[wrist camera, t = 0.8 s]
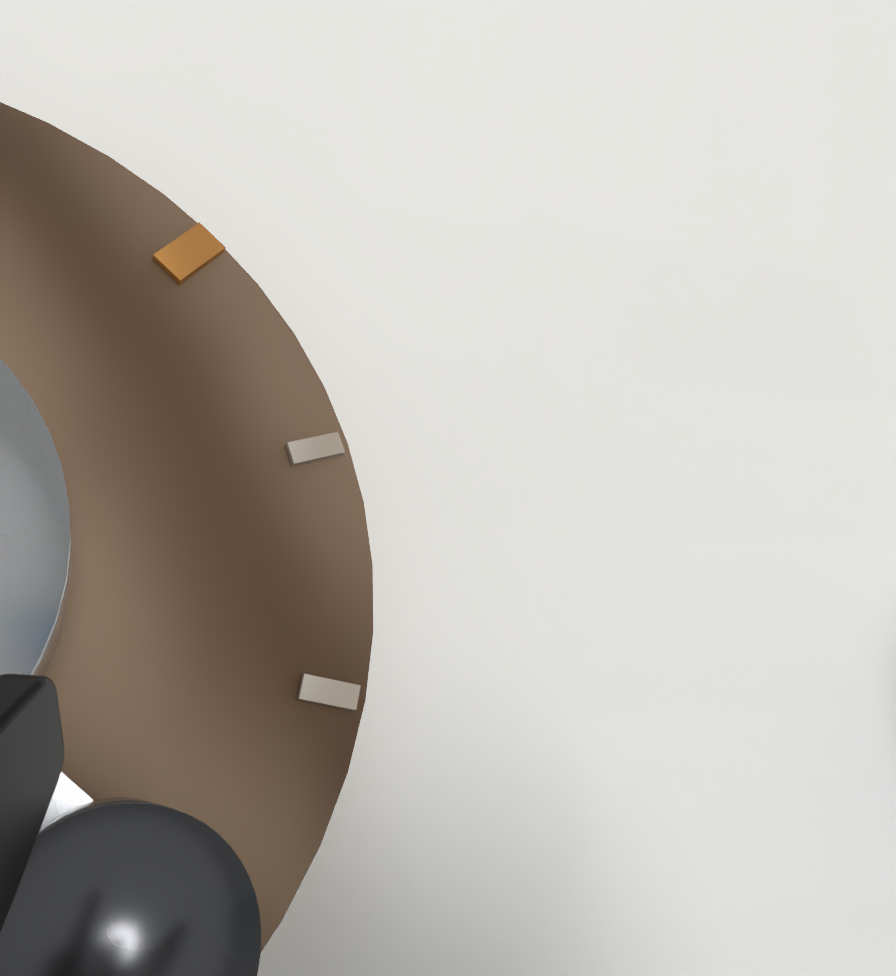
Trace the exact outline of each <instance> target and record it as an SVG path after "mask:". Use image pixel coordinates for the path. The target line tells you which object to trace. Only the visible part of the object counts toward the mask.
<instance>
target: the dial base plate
mask: <svg viewBox="0 0 896 976" xmlns="http://www.w3.org/2000/svg"><path fill="white" fill-rule="evenodd" d="M0 358H1V359H2V360H3V361H4V363H5V364H6V365H7V366H8V367H9V368H10V369H11V370H12V372H13V373H14V374H15V376H16V377H17V378H18V380H19V381H20V383H21V384H22V385H23V387H24V388H25V389H26V391H27V392H28V394H29V395H30V396H31V398H32V399H33V401H34V403H35V405H36V407H37V409H38V410H39V412H40V414H41V416H42V418H43V420H44V422H45V424H46V426H47V427H48V429H49V431H50V434H51V437H52V439H53V442H54V445H55V448H56V451H57V454H58V456H59V459H60V462H61V465H62V469H63V474H64V479H65V484H66V490H67V495H68V500H69V512H70V530H71V554H72V571H71V581H70V591H69V600H68V604H67V608H66V612H65V616H64V620H63V624H62V628H61V632H60V636H59V639H58V641H57V644H56V646H55V649H54V651H53V654H52V656H51V659H50V661H49V664H48V666H47V669H46V671H45V673H44V675H43V676H47V677H48V678H50V679H51V680H52V681H53V682H54V684H55V687H56V691H57V696H58V704H59V711H60V718H61V726H62V733H63V740H64V762H63V767H62V772H63V773H64V774H65V775H67V776H68V777H69V778H70V779H71V780H72V781H73V782H74V783H76V784H77V785H78V786H79V787H80V788H81V789H82V790H83V791H85V792H86V793H87V794H88V795H89V796H90V797H91V798H93V799H94V800H99V799H105V798H116V797H125V798H136V799H140V800H144V801H148V802H152V803H155V804H159V805H162V806H166V807H169V808H173V809H175V810H178V811H181V812H183V813H186V814H189V815H191V816H193V817H194V818H196V819H198V820H200V821H202V822H203V823H205V824H206V825H208V826H209V827H210V828H212V829H213V830H214V831H216V832H217V833H218V834H219V835H220V836H221V837H222V838H223V839H224V840H225V841H226V842H227V843H228V844H229V845H230V846H231V847H232V849H233V850H234V852H235V853H236V854H237V856H238V857H239V858H240V860H241V862H242V863H243V865H244V867H245V869H246V871H247V873H248V875H249V877H250V880H251V882H252V885H253V888H254V891H255V893H256V898H257V903H258V907H259V912H260V922H261V951H262V950H263V948H264V946H265V945H266V943H267V942H268V940H269V939H270V937H271V936H272V934H273V933H274V931H275V930H276V928H277V927H278V925H279V924H280V922H281V921H282V919H283V917H284V915H285V913H286V911H287V909H288V907H289V905H290V903H291V901H292V899H293V897H294V895H295V894H296V892H297V890H298V888H299V886H300V884H301V882H302V880H303V878H304V876H305V874H306V872H307V870H308V868H309V866H310V864H311V862H312V860H313V858H314V856H315V855H316V853H317V851H318V849H319V847H320V844H321V842H322V839H323V836H324V834H325V831H326V828H327V826H328V823H329V820H330V818H331V815H332V812H333V810H334V807H335V804H336V802H337V799H338V796H339V794H340V791H341V788H342V786H343V783H344V780H345V778H346V775H347V772H348V768H349V764H350V760H351V756H352V752H353V748H354V744H355V740H356V736H357V732H358V727H359V723H360V719H361V715H362V711H363V707H364V703H365V697H366V688H367V679H368V671H369V662H370V653H371V645H372V636H373V581H372V560H371V553H370V545H369V538H368V531H367V524H366V516H365V509H364V502H363V499H362V495H361V491H360V488H359V484H358V480H357V477H356V473H355V469H354V466H353V462H352V458H351V455H350V451H349V447H348V443H347V441H346V439H345V436H344V434H343V431H342V429H341V426H340V424H339V422H338V419H337V417H336V414H335V412H334V409H333V407H332V405H331V402H330V400H329V397H328V395H327V392H326V390H325V388H324V386H323V384H322V382H321V380H320V379H319V377H318V375H317V373H316V371H315V370H314V368H313V366H312V364H311V363H310V361H309V359H308V357H307V356H306V354H305V352H304V350H303V349H302V347H301V345H300V343H299V341H298V340H297V338H296V336H295V334H294V333H293V331H292V330H291V329H290V327H289V326H288V325H287V323H286V322H285V321H284V319H283V318H282V317H281V315H280V314H279V312H278V311H277V310H276V308H275V307H274V306H273V304H272V303H271V302H270V300H269V299H268V298H267V296H266V295H265V293H264V292H263V291H262V289H261V288H260V287H259V285H258V284H257V283H256V282H255V281H254V280H253V279H252V278H251V276H250V275H249V274H248V273H247V272H246V271H245V270H244V269H243V268H242V267H241V266H240V265H239V264H238V262H237V261H236V260H235V259H234V258H233V257H232V256H231V255H230V254H229V253H228V252H227V251H226V250H225V247H224V246H223V245H222V244H221V243H220V242H219V241H218V240H217V239H216V238H215V237H214V236H213V235H212V234H211V233H210V232H209V231H208V230H207V229H206V228H205V227H204V226H203V225H201V224H200V223H197V222H196V221H194V220H193V219H192V218H191V217H190V216H189V215H187V214H186V213H185V212H184V211H183V210H182V209H180V208H179V207H178V206H177V205H176V204H175V203H173V202H172V201H171V200H170V199H169V198H168V197H166V196H165V195H164V194H162V193H161V192H160V191H158V190H157V189H155V188H154V187H152V186H151V185H149V184H148V183H147V182H145V181H144V180H142V179H141V178H139V177H138V176H136V175H135V174H133V173H132V172H131V171H129V170H128V169H126V168H125V167H123V166H122V165H120V164H119V163H118V162H116V161H115V160H113V159H112V158H110V157H109V156H107V155H105V154H103V153H101V152H100V151H98V150H96V149H94V148H92V147H91V146H89V145H87V144H85V143H83V142H82V141H80V140H78V139H76V138H74V137H72V136H71V135H69V134H67V133H65V132H63V131H62V130H60V129H58V128H56V127H54V126H53V125H51V124H49V123H47V122H45V121H42V120H40V119H38V118H35V117H33V116H31V115H28V114H26V113H24V112H22V111H19V110H17V109H15V108H12V107H10V106H8V105H5V104H3V103H1V102H0ZM260 953H261V952H260Z"/></svg>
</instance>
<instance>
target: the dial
mask: <svg viewBox="0 0 896 976" xmlns="http://www.w3.org/2000/svg"><path fill="white" fill-rule="evenodd" d="M71 571H72V554H71V530H70V512H69V500H68V495H67V490H66V484H65V479H64V474H63V469H62V465H61V462H60V459H59V456H58V454H57V451H56V448H55V445H54V442H53V439H52V437H51V434H50V431H49V429H48V427H47V426H46V424H45V422H44V420H43V418H42V416H41V414H40V412H39V410H38V409H37V407H36V405H35V403H34V401H33V399H32V398H31V396H30V395H29V394H28V392H27V391H26V389H25V388H24V387H23V385H22V384H21V383H20V381H19V380H18V378H17V377H16V376H15V374H14V373H13V372H12V370H11V369H10V368H9V367H8V366H7V365H6V364H5V363H4V361H3V360H2V359H1V358H0V675H3V674H11V673H12V674H28V675H44V673H45V671H46V669H47V666H48V664H49V661H50V659H51V656H52V654H53V651H54V649H55V646H56V644H57V641H58V639H59V636H60V632H61V628H62V624H63V620H64V616H65V612H66V608H67V604H68V600H69V591H70V581H71ZM260 952H261V922H260V912H259V907H258V903H257V898H256V893H255V891H254V888H253V885H252V882H251V880H250V877H249V875H248V873H247V871H246V869H245V867H244V865H243V863H242V862H241V860H240V858H239V857H238V856H237V854H236V853H235V852H234V850H233V849H232V847H231V846H230V845H229V844H228V843H227V842H226V841H225V840H224V839H223V838H222V837H221V836H220V835H219V834H218V833H217V832H216V831H214V830H213V829H212V828H210V827H209V826H208V825H206V824H205V823H203V822H202V821H200V820H198V819H196V818H194V817H193V816H191V815H189V814H186V813H183V812H181V811H178V810H175V809H173V808H169V807H166V806H162V805H159V804H155V803H152V802H148V801H144V800H140V799H136V798H125V797H116V798H105V799H99V800H94V799H93V798H91V797H90V796H89V795H88V794H87V793H86V792H85V791H83V790H82V789H81V788H80V787H79V786H78V785H77V784H76V783H74V782H73V781H72V780H71V779H70V778H69V777H68V776H67V775H65V774H64V773H63V772H62V771H61V774H60V777H59V780H58V783H57V786H56V788H55V791H54V794H53V796H52V799H51V802H50V804H49V807H48V810H47V812H46V815H45V818H44V820H43V823H42V826H41V828H40V831H39V834H38V836H37V839H36V842H35V844H34V847H33V850H32V852H31V855H30V858H29V860H28V863H27V866H26V868H25V871H24V874H23V876H22V879H21V882H20V884H19V887H18V890H17V892H16V895H15V898H14V900H13V903H12V906H11V908H10V911H9V914H8V916H7V919H6V921H5V924H4V926H3V929H2V931H1V934H0V976H257V972H258V966H259V959H260Z"/></svg>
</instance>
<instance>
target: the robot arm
mask: <svg viewBox="0 0 896 976" xmlns="http://www.w3.org/2000/svg"><path fill="white" fill-rule="evenodd" d="M63 762H64V740H63V733H62V726H61V718H60V711H59V704H58V696H57V691H56V687H55V684H54V682H53V681H52V680H51V679H50V678H48V677H47V676H43V675H28V674H12V673H11V674H3V675H0V934H1V931H2V929H3V926H4V924H5V921H6V919H7V916H8V914H9V911H10V908H11V906H12V903H13V900H14V898H15V895H16V892H17V890H18V887H19V884H20V882H21V879H22V876H23V874H24V871H25V868H26V866H27V863H28V860H29V858H30V855H31V852H32V850H33V847H34V844H35V842H36V839H37V836H38V834H39V831H40V828H41V826H42V823H43V820H44V818H45V815H46V812H47V810H48V807H49V804H50V802H51V799H52V796H53V794H54V791H55V788H56V786H57V783H58V780H59V777H60V774H61V771H62V767H63Z"/></svg>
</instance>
